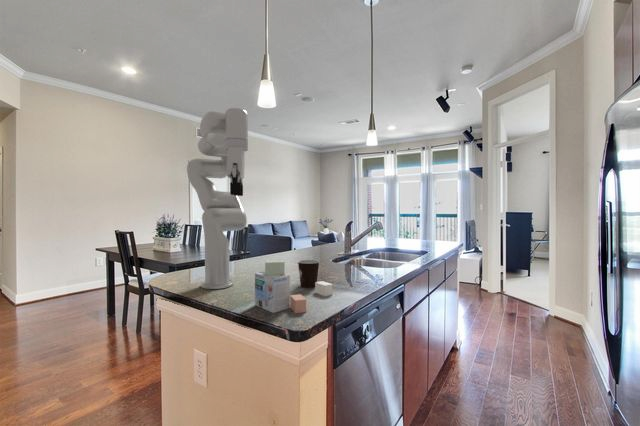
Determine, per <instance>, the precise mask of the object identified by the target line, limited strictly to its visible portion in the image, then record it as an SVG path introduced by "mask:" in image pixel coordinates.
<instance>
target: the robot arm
mask: <svg viewBox="0 0 640 426" xmlns="http://www.w3.org/2000/svg"><path fill="white" fill-rule="evenodd" d="M248 120H249V116H248V112H247V111H246V109H243V108H240V107H231V108H228V109H226V110H225V112H219V111H208V112H206V113H205V114H204V115H203V117H202V118H201V120H200V124H199V133H200V135H201V138H200V139H199V141H198V143H197V149H198V151H199V152H200V153H201V154H202V155H204V156H208V157H218V158H220V159H210V158H193V159H190V160H189V161H188V163H187V167H186V174H187V178H188V180H189V183H190V185H191V186H192V188H194V190H195V193H196V194H197V197H198V201H199V204H200V206H201V209H202V211H203V213H202V215H201V221H202V228H203V233H204V234H203V235H204V236H203V238H204V281H203V282H201V284H200V287H201V289H205V290H220V289H226V288H229V287H232V286H233V285H234V280H232V279H230V241H229V238H228V237H227V236H226V234H224V232H235V231H237V232H238V231H241V230H244V229H245V228H246V226H247V223H248V222H247V221H248V220H247V214H246V211H245V210H244V207H243V205H242V203H241V201H240V200H241V199H240V198H239V197H243V196H244V185H243V184H244V183H243V179H245V178H244V177H245V153H246V152H249V134H248V133H249V131H248V130H249V129H248V128H249V127H248V126H249V125H248V124H249V121H248ZM226 178H229V179H230V183H229V185H230V186H229V189H230V190H229V191H219V190H218V188H217V186H216V184H215V183H214V182H213V181H212V180H210V179H226Z"/></svg>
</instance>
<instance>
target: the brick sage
mask: <svg viewBox="0 0 640 426" xmlns="http://www.w3.org/2000/svg"><path fill="white" fill-rule="evenodd" d="M285 264H286V263H285V260H284V259H283V260H265V262H264V268H265V270H264V271H265V275H284V274H285Z"/></svg>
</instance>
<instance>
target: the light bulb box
mask: <svg viewBox="0 0 640 426" xmlns="http://www.w3.org/2000/svg"><path fill="white" fill-rule="evenodd" d="M290 277H291V276H290V274H287V273H284V275H265V270H264V271H260V272H255V273H254V305H255V306H257V307H259V308H261V309H263V310H266V311H268V312H270V313H272V314H274V313H278V312H282V311H286V310H289V309H291V308H290V295H291V293H290V291H291V290H290V288H291V286H290V283H291V280H290V279H291V278H290Z"/></svg>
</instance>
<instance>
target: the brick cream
mask: <svg viewBox="0 0 640 426" xmlns="http://www.w3.org/2000/svg"><path fill="white" fill-rule="evenodd" d="M333 288H334V287H333V283H330V282H327V281H324V280H322V281H317V282H315V287H314V293H316V294H318V295H321V296H322V297H323V296H324V297H329V296H332V295H333V291H334V290H333Z"/></svg>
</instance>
